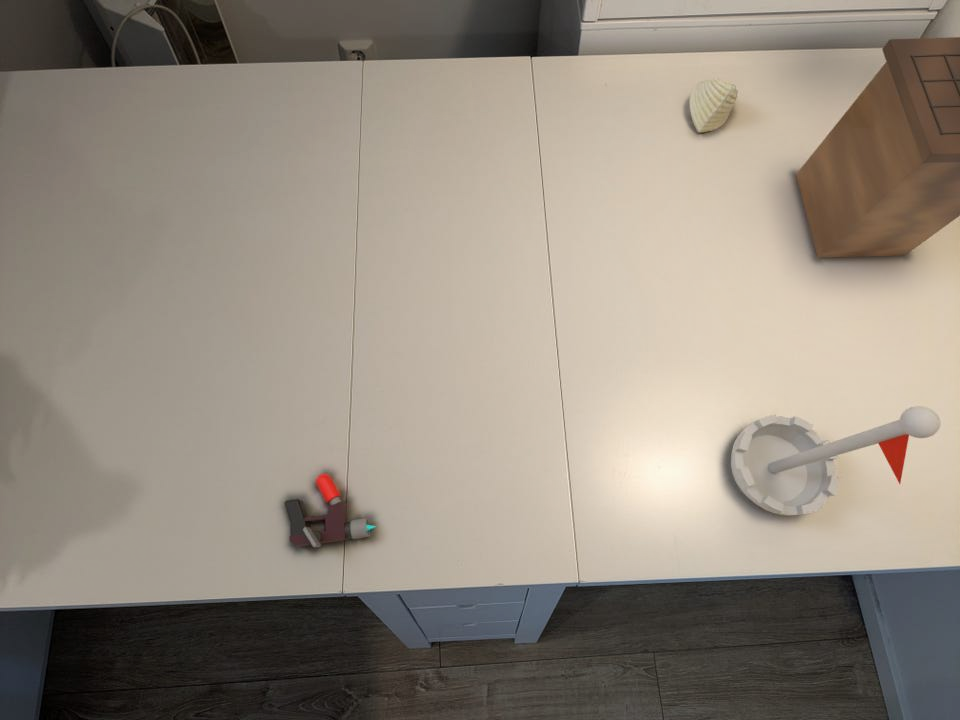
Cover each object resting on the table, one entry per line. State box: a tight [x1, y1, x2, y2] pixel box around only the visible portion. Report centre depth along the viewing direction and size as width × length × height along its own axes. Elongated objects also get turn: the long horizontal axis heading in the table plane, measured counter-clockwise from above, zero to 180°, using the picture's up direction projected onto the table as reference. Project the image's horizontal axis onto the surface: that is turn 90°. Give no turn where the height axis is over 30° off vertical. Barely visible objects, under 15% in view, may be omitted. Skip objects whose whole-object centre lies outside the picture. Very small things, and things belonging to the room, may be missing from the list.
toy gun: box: [284, 473, 377, 549], centre depth 74 cm, size 10×12×5 cm
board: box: [795, 36, 960, 259], centre depth 79 cm, size 16×18×26 cm
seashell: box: [688, 78, 739, 133], centre depth 96 cm, size 8×8×8 cm
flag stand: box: [730, 405, 941, 516], centre depth 63 cm, size 13×13×30 cm
